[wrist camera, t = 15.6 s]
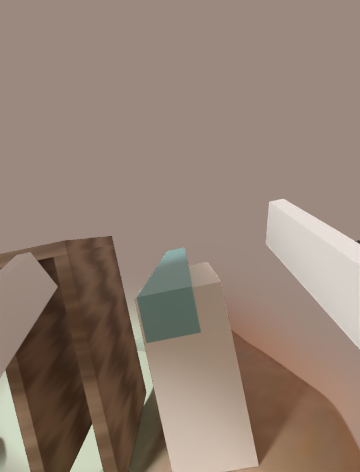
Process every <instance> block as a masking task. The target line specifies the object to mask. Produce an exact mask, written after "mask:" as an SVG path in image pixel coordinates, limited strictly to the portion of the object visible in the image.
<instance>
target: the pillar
mask: <svg viewBox="0 0 360 472" xmlns="http://www.w3.org/2000/svg"><path fill="white" fill-rule="evenodd" d="M189 272H190V277H191V282H192V288H193V293H194V298H195V303H196V309H197V314H198V319H199V325H200V330H201V333H196V334H191V335H186V336H181V337H176V338H171V339H166V340H161V341H156V342H151V343H146V338H145V334H144V329H143V325H142V320H141V316H140V311H139V306H138V302H137V296H138V294H139V293H140V291H141V290H142V289H141V290H140V291H139V293H138V294H137V296H136V297H135V299H134V300H135V304H136V308H137V313H138V318H139V322H140V327H141V331H142V336H143V341H144V345H145V350H146V354H147V358H148V363H149V368H150V372H151V377H152V382H153V386H154V391H155V395H156V400H157V404H158V409H159V413H160V418H161V423H162V427H163V432H164V436H165V441H166V445H167V450H168V454H169V459H170V463H171V468H172V472H226V471H232V470H238V469H244V468H250V467H256V466H259V465H258V460H257V455H256V450H255V445H254V440H253V435H252V430H251V425H250V420H249V415H248V410H247V405H246V400H245V395H244V391H243V386H242V381H241V376H240V371H239V366H238V361H237V356H236V351H235V346H234V341H233V336H232V331H231V326H230V321H229V316H228V312H227V306H226V302H225V297H224V292H223V287H222V282H221V280H220V279H219V277H218V276H217V275H216V273H215V272H214V270H213V269H212V268H211V267H210V265H209V264H208V262H204V263H200V264H194V265H189ZM151 275H152V274H151ZM149 278H150V277H149ZM147 281H148V280H147ZM145 284H146V283H145ZM143 287H144V286H143ZM143 287H142V288H143Z"/></svg>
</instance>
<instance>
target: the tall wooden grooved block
mask: <svg viewBox="0 0 360 472" xmlns="http://www.w3.org/2000/svg"><path fill="white" fill-rule="evenodd" d="M28 252H31V254H32V255H33V256H34V257H35V259H36V260H37V261H38V262H39V264H40V265H41V266H42V267H43V269H44V270H45V271H46V272H47V274H48V275H49V276H50V277H51V279H52V280H53V281H54V282H55V284H56V285H57V286H58V287H57V289H56V290H55V292H54V293H53V295H52V297H51V298H50V300H49V301H48V303H47V305H46V306H45V308H44V309H43V311H42V312H41V314H40V316H39V317H38V319H37V320H36V322H35V323H34V325H33V327H32V328H31V330H30V331H29V333H28V334H27V336H26V338H25V339H24V341H23V342H22V344H21V345H20V347H19V349H18V350H17V352H16V353H15V355H14V356H13V358H12V360H11V361H10V363H9V364H8V366H7V368H6V369H5V370H6V374H7V378H8V382H9V386H10V390H11V394H12V398H13V402H14V406H15V411H16V415H17V418H18V423H19V426H20V430H21V435H22V439H23V443H24V446H25V451H26V455H27V459H28V462H29V467H30V471H31V472H70V470H71V468H72V465H73V463H74V461H75V459H76V457H77V455H78V453H79V451H80V448H81V446H82V444H83V442H84V440H85V438H86V435H87V434H88V431H89V429H90V427H91V425H92V424H93V428H94V432H95V437H96V441H97V446H98V450H99V454H100V458H101V463H102V467H103V471H104V472H128V471H129V467H130V462H131V458H132V453H133V449H134V445H135V440H136V436H137V431H138V427H139V423H140V418H141V414H142V409H143V405H144V401H145V396H146V389H145V384H144V380H143V375H142V371H141V366H140V361H139V357H138V353H137V348H136V343H135V339H134V335H133V330H132V325H131V321H130V316H129V312H128V307H127V303H126V298H125V294H124V289H123V285H122V280H121V276H120V271H119V267H118V262H117V258H116V253H115V249H114V244H113V240H112V236H107V237H97V238H88V239H77V240H66V241H61V242H56V243H51V244H46V245H41V246H37V247H32V248H27V249H23V250H18V251H13V252H9V253H3V254H0V270H1V269H2V268H3V267H4V266H5V265H6V264H7V263H8V262H9V261H10V260H12V259H13V258H14V257H15V256H16V255H19V254H24V253H28Z"/></svg>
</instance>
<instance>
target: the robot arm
mask: <svg viewBox="0 0 360 472" xmlns="http://www.w3.org/2000/svg"><path fill="white" fill-rule="evenodd" d="M266 245H267V246H268V247H269V248H270V249H271V250H272V251H273V253H274V254H275V255H276V256H277V257H278V258H279V259H280V260H281V261H282V263H283V264H284V265H285V266H286V267H287V268H288V269H289V270H290V272H291V273H292V274H293V275H294V276H295V277H296V278H297V279H298V281H299V282H300V283H301V284H302V285H303V286H304V287H305V289H306V290H307V291H308V292H309V293H310V294H311V295H312V296H313V297H314V298H315V300H316V301H317V302H318V303H319V304H320V305H321V306H322V308H323V309H324V310H325V311H326V312H327V313H328V314H329V315H330V317H331V318H332V319H333V320H334V321H335V322H336V323H337V324H338V326H339V327H340V328H341V329H342V330H343V331H344V332H345V333H346V335H347V336H348V337H349V338H350V339H351V340H352V341H353V342H354V344H355V345H356V346H357V347H358V348H359V349H360V241H354V240H352V239H350V238H348V237H347V236H345V235H344V234H342V233H340V232H339V231H337V230H335V229H334V228H332V227H330V226H328V225H327V224H325V223H323V222H322V221H320V220H318V219H317V218H315V217H313V216H312V215H310V214H308V213H306V212H305V211H303V210H302V209H300V208H298V207H297V206H295V205H293V204H291V203H290V202H288V201H286V200H285V199H281V200H276V201H271V202H269V212H268V223H267V235H266ZM57 287H58V286H57V285H56V284H55V282H54V281H53V280H52V279H51V277H50V276H49V275H48V274H47V272H46V271H45V270H44V269H43V267H42V266H41V265H40V264H39V262H38V261H37V260H36V259H35V257H34V256H33V255H32V254H31V252H28V253H24V254H19V255H16V256H15V257H14V258H13V259H12V260H10V261H9V262H8V263H7V264H6V265H5V266H4V267H3V268H2V269H1V270H0V377H1V375H2V374H3V372H4V371H5V369H6V368H7V366H8V364H9V363H10V361H11V360H12V358H13V356H14V355H15V353H16V352H17V350H18V349H19V347H20V345H21V344H22V342H23V341H24V339H25V338H26V336H27V334H28V333H29V331H30V330H31V328H32V327H33V325H34V323H35V322H36V320H37V319H38V317H39V316H40V314H41V312H42V311H43V309H44V308H45V306H46V305H47V303H48V301H49V300H50V298H51V297H52V295H53V293H54V292H55V290H56V289H57Z"/></svg>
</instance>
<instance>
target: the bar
mask: <svg viewBox="0 0 360 472" xmlns="http://www.w3.org/2000/svg"><path fill="white" fill-rule="evenodd" d="M137 302H138V306H139V311H140V316H141V320H142V325H143V329H144V334H145V338H146V343H151V342H156V341H161V340H166V339H171V338H176V337H181V336H186V335H191V334H196V333H201V330H200V325H199V319H198V314H197V309H196V303H195V298H194V293H193V288H192V282H191V277H190V272H189V266H188V261H187V256H186V252H185V248H180V249H175V250H170V251H167V252H166V254H165V255H164V257H163V258H162V260H161V261H160V263H159V264H158V266H157V267H156V269H155V270H154V272H153V273H152V275H151V276H150V278H149V279H148V281H147V282H146V284H145V285H144V287H143V288H142V290H141V291H140V293H139V294H138V296H137Z"/></svg>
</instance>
